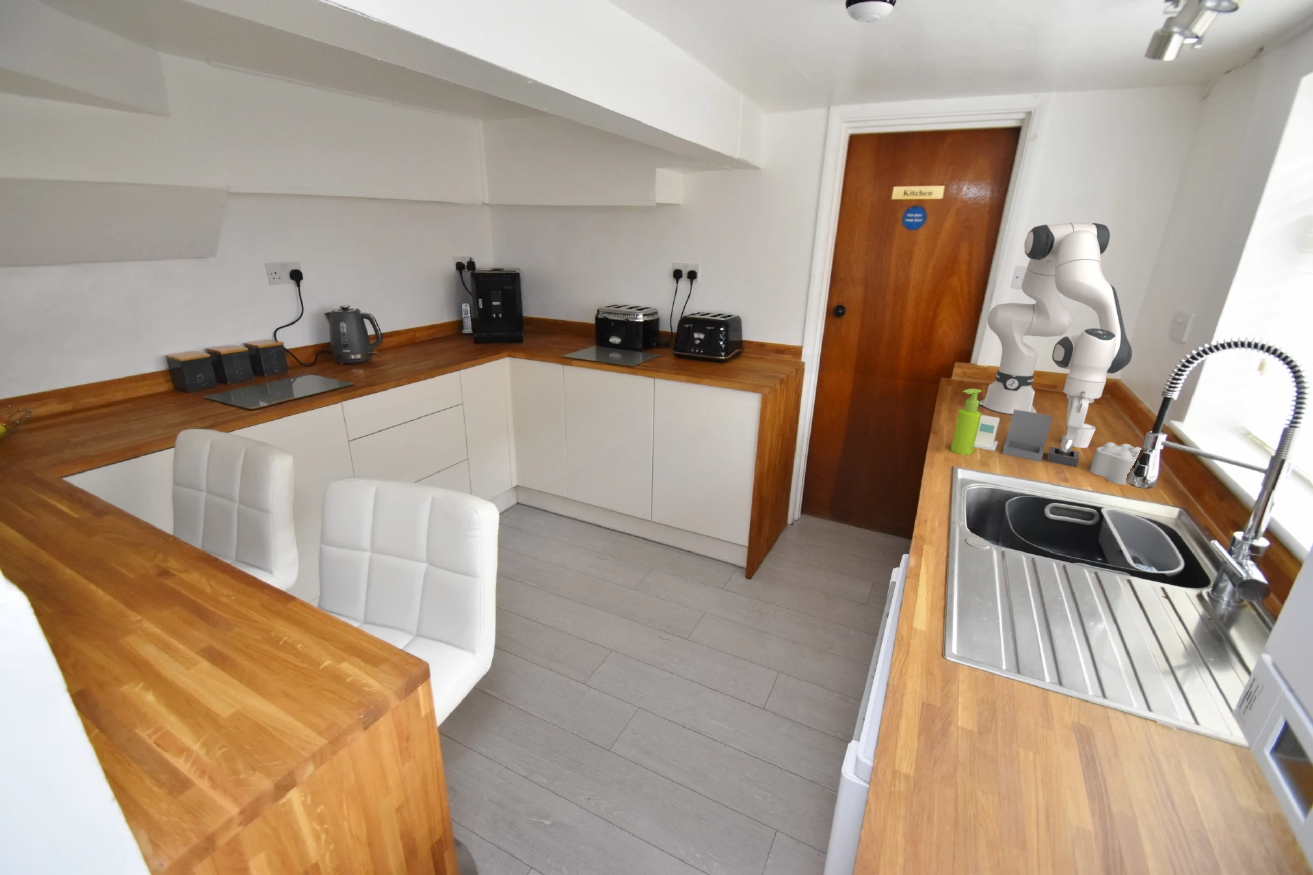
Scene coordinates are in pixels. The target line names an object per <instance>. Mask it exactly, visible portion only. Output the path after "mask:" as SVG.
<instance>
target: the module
mask: <svg viewBox="0 0 1313 875" xmlns="http://www.w3.org/2000/svg"><path fill="white" fill-rule="evenodd" d="M1000 420H1001V417H996V416H990V415H986V414H981V419H980V423H979V427H978V431H977V436H976V440H975V444H980V445H985V446H990V447H992V446H993V444H994V441H996V436H997V432H998V428H999V425H1000V424H999V423H1000Z"/></svg>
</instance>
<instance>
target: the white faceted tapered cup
mask: <svg viewBox="0 0 1313 875" xmlns="http://www.w3.org/2000/svg"><path fill="white" fill-rule="evenodd" d="M1096 428H1097V427H1096V426H1095V425H1092V424H1089V423H1085V422H1084V424H1083V427H1082V428H1081V429H1077V431H1076V433H1075V436H1074V437H1075V438H1074V441H1073V445H1072V447H1074V448H1080V449H1082V448H1083V449H1085V448H1086V449H1087V448H1088V447H1089V445H1090V443H1091V440H1092V438H1093V436H1094V434H1095V431H1096Z"/></svg>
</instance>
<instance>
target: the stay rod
mask: <svg viewBox="0 0 1313 875" xmlns="http://www.w3.org/2000/svg"><path fill="white" fill-rule="evenodd" d="M1074 438H1075V437H1074ZM1073 441H1074V439H1073V440H1067V439H1066V434H1063V435H1062V437H1061V442H1060V445H1059V447H1058V448H1059V451H1058V454H1061V455H1066V456H1069V455H1070V452H1071V451H1072V448H1073V446H1072V445H1073Z"/></svg>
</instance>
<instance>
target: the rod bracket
mask: <svg viewBox="0 0 1313 875" xmlns="http://www.w3.org/2000/svg"><path fill="white" fill-rule="evenodd" d="M1059 448H1060V447H1055V446H1050V448H1049V451H1048V454H1047V462H1050V463H1054V464H1059V465H1065V466H1069V467H1074V468H1077V466H1078V463H1079V460H1080V452H1079V451H1075V450H1071V452H1070V455H1069V456H1066V455H1061V454H1058V451H1059Z"/></svg>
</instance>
